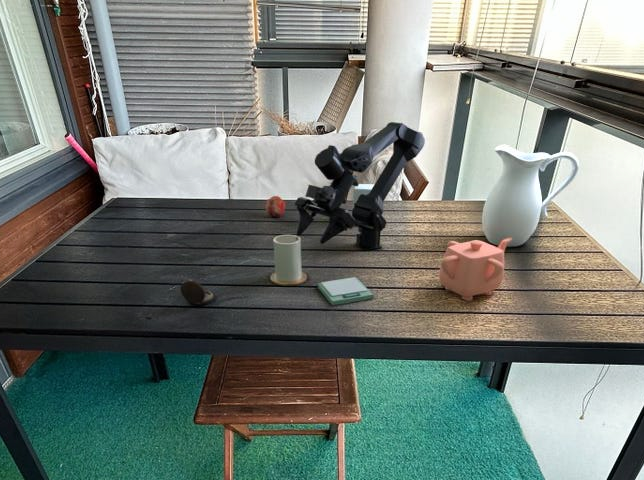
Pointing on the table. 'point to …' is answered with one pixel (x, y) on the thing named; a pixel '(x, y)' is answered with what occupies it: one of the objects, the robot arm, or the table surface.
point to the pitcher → (519, 195)
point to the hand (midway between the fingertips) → (309, 239)
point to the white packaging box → (361, 191)
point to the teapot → (473, 267)
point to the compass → (196, 293)
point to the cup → (287, 258)
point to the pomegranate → (275, 206)
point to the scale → (344, 291)
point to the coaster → (274, 280)
